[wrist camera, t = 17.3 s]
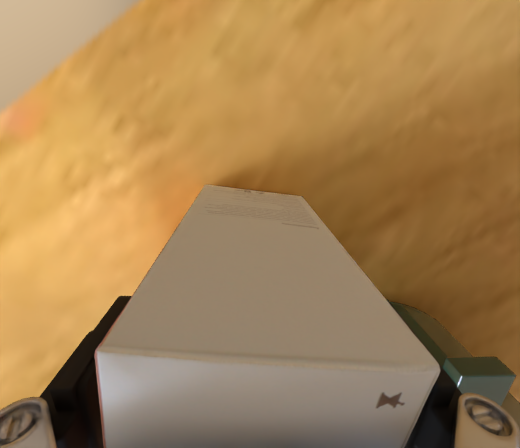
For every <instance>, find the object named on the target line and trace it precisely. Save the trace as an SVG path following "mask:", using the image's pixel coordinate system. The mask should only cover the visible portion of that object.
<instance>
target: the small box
mask: <svg viewBox="0 0 520 448" xmlns="http://www.w3.org/2000/svg"><path fill="white" fill-rule="evenodd" d="M95 365H96V375H97V384H98V394H99V404H100V413H101V424H102V435H103V446H104V448H404V447H405V445H406V443H407V441H408V439H409V437H410V434H411V432H412V430H413V428H414V426H415V424H416V422H417V420H418V417H419V415H420V413H421V410H422V408H423V406H424V404H425V402H426V400H427V398H428V396H429V393H430V391H431V389H432V387H433V386H434V384H435V382H436V380H437V378H438V376H439V373H440V367H439V364H438V362H437V361H436V360H435V359H434V358H433V356H432V355H431V354H430V353H429V351H428V350H427V349H426V348H425V347H424V345H423V344H422V343H421V342H420V341H419V340H418V338H417V337H416V336H415V335H414V334H413V333H412V331H411V330H410V329H409V327H408V326H407V325H406V324H405V322H404V321H403V320H402V319H401V317H400V316H399V315H398V313H397V312H396V311H395V310H394V309H393V307H392V306H391V305H390V304H389V302H388V301H387V300H386V299H385V298H384V296H383V295H382V294H381V293H380V291H379V290H378V289H377V288H376V287H375V285H374V284H373V283H372V282H371V280H370V279H369V278H368V277H367V276H366V274H365V273H364V272H363V271H362V269H361V268H360V267H359V266H358V265H357V263H356V262H355V261H354V260H353V258H352V257H351V256H350V255H349V253H348V252H347V251H346V250H345V249H344V247H343V246H342V245H341V244H340V242H339V241H338V240H337V239H336V237H335V236H334V235H333V234H332V233H331V231H330V230H329V229H328V227H327V226H326V225H325V224H324V223H323V221H322V220H321V219H320V218H319V216H318V215H317V214H316V213H315V212H314V210H313V209H312V208H311V207H310V205H309V204H308V203H307V202H306V200H305V199H304V198H303V197H302V196H296V195H288V194H279V193H271V192H263V191H254V190H246V189H238V188H231V187H223V186H215V185H204V187H203V188H202V190H201V191H200V193H199V194H198V196H197V197H196V199H195V201H194V202H193V204H192V205H191V207H190V208H189V210H188V211H187V213H186V214H185V216H184V217H183V219H182V220H181V222H180V223H179V225H178V226H177V228H176V229H175V231H174V233H173V234H172V236H171V237H170V239H169V240H168V242H167V243H166V245H165V246H164V248H163V249H162V251H161V252H160V254H159V256H158V257H157V259H156V260H155V262H154V263H153V265H152V266H151V268H150V270H149V271H148V273H147V274H146V276H145V277H144V279H143V280H142V282H141V283H140V285H139V286H138V288H137V289H136V291H135V292H134V294H133V295H132V297H131V299H130V300H129V302H128V303H127V305H126V306H125V308H124V309H123V310H122V312H121V313H120V315H119V316H118V318H117V319H116V321H115V322H114V324H113V325H112V327H111V328H110V329H109V331H108V333H107V334H106V336H105V338H104V339H103V341H102V342H101V343H100V345H99V346H98V347H97V349H96V350H95Z"/></svg>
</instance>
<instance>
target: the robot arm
mask: <svg viewBox="0 0 520 448" xmlns="http://www.w3.org/2000/svg"><path fill="white" fill-rule="evenodd" d="M131 297H132V296H119V297H118V298H117V300H116V301H115V302H114V304H113V305H112V306H111V308H110V309H109V310H108V312H107V313H106V314H105V316H104V317H103V318H102V320H101V321H100V322H99V324H98V325H97V326H96V328H95V329H94V330H93V331H91V332H89V333H88V334H87V335H86V337H85V338H84V339H83V341H82V342H81V343H80V344H79V346H78V347H77V348H76V350H75V351H74V352H73V354H72V355H71V356H70V358H69V359H68V360H67V362H66V363H65V364H64V365H63V367H62V368H61V369H60V371H59V372H58V373H57V375H56V376H55V377H54V379H53V380H52V381H51V383H50V384H49V385H48V386H47V388H46V389H45V390H44V392H43V393H42V394H41V396H40V397H30V398H25V399H21V400H19V401H16V402H14V403H12V404H10V405H8V406H7V407H5V408H3V409H2V410H0V448H104V446H103V435H102V424H101V413H100V404H99V394H98V384H97V375H96V365H95V350H96V349H97V347H98V346H99V345H100V343H101V342H102V341H103V339H104V338H105V336H106V334H107V333H108V331H109V329H110V328H111V327H112V325H113V324H114V322H115V321H116V319H117V318H118V316H119V315H120V313H121V312H122V310H123V309H124V308H125V306H126V305H127V303H128V302H129V300H130V299H131ZM386 300H387V299H386ZM387 301H388V302H389V304H390V305H391V306H392V307H393V309H394V310H395V311H396V312H397V313H398V311H397V310H396V309H395V308H394V306H393V305H392V304H391V303H390V301H389V300H387ZM398 315H399V316H400V317H401V319H402V320H403V321H404V322H405V324H406V325H407V326H408V327H409V329H410V330H411V331H412V333H413V334H414V335H415V336H416V337H417V338H418V336H417V335H416V334H415V333H414V331H413V330H412V329H411V328H410V326H409V325H408V324H407V323H406V321H405V320H404V319H403V318H402V316H401V315H400V314H399V313H398ZM418 340H419V341H420V342H421V343H422V341H421V340H420V339H419V338H418ZM422 344H423V343H422ZM423 345H424V344H423ZM424 347H425V348H426V346H425V345H424ZM426 349H427V348H426ZM427 350H428V349H427ZM428 351H429V350H428ZM429 353H430V351H429ZM430 354H431V353H430ZM431 355H432V354H431ZM432 356H433V355H432ZM433 358H434V356H433ZM434 359H435V358H434ZM435 360H436V359H435ZM436 361H437V360H436ZM437 362H438V361H437ZM438 364H439V363H438ZM439 367H440V373H439V376H438V378H437V380H436V382H435V384H434V386H433V387H432V389H431V391H430V393H429V396H428V398H427V400H426V402H425V404H424V406H423V408H422V410H421V413H420V415H419V417H418V420H417V422H416V424H415V426H414V428H413V430H412V432H411V434H410V437H409V439H408V441H407V443H406V445H405V447H404V448H520V430H519V427H518V425H517V423H516V422H515V420H514V419H513V417H512V416H511V415H510V414H509V413H508V412H507V411H506V410H505V409H503V408H502V407H501V406H500V405H498V404H497V403H495V402H494V401H492V400H490V399H488V398H487V397H484V396H482V395H479V394H474V393H464V394H462V393H461V391H460V390H459V389H458V388H457V385H456V384H455V383H454V381H453V380H452V379H451V378H450V376H449V375H448V374H447V373H446V371H445V370H444V369H443V368H442V366H441V365H440V364H439Z"/></svg>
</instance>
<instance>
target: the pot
mask: <svg viewBox="0 0 520 448" xmlns="http://www.w3.org/2000/svg"><path fill="white" fill-rule="evenodd" d="M390 303H391V304H392V305H393V306H394V308H395V309H396V310H397V311H398V313H399V314H400V315H401V316H402V318H403V319H404V320H405V321H406V323H407V324H408V325H409V326H410V328H411V329H412V330H413V331H414V333H415V334H416V335H417V336H418V338H419V339H420V340H421V341H422V343H423V344H424V345H425V346H426V348H427V349H428V350H429V351H430V353H431V354H432V355H433V356H434V358H435V359H436V360H437V361H438V363H439V364H440V365H441V366H442V368H443V369H444V370H445V371H446V373H447V374H448V375H449V376H450V378H451V379H452V380H453V381H454V383H455V384H456V385H457V388H458V389H459V390H460V391H461V393H462V394H464V393H474V394H479V395H482V396H484V397H487V398H488V399H490V400H492V401H494V402H495V403H497V404H498V405H500V406H501V407H502V408H503V409H505V410H506V411H507V412H508V413H509V414H510V415H511V416H512V417H513V419H514V420H515V422H516V423H517V425H518V427H519V430H520V403H519V402H518V401H517V400H516V399H515V398H514V397H513V396H512V395H511V394H510V393H509V392H508V391H509V389H510V387H511V385H512V383H513V381H514V379H515V377H516V375H515V374H514V373H513V372H512V371H511V370H510V369H509V368H508V367H507V366H506V365H504V364H503V363H502V362H501V361H500V360H499V359H498V358H497V357H473V356H472V355H471V354H470V353H469V352H468V351H467V350H466V349H465V348H464V347H463V346H462V345H461V344H460V343H459V342H458V341H457V340H456V339H455V338H454V337H453V336H452V335H451V334H450V333H449V332H448V331H447V330H446V329H445V328H444V327H443V326H442V325H441V324H440V323H439V322H438V321H437V320H436V319H434V318H432V317H430V316H429V315H427V314H426V313H424V312H422V311H420V310H418V309H416V308H414V307H410V306H407V305H404V304H400V303H395V302H390Z"/></svg>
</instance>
